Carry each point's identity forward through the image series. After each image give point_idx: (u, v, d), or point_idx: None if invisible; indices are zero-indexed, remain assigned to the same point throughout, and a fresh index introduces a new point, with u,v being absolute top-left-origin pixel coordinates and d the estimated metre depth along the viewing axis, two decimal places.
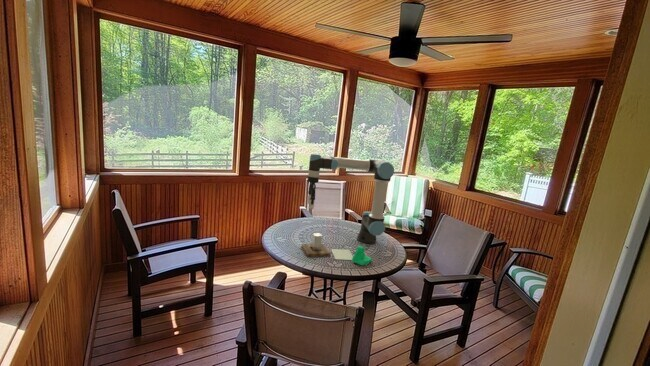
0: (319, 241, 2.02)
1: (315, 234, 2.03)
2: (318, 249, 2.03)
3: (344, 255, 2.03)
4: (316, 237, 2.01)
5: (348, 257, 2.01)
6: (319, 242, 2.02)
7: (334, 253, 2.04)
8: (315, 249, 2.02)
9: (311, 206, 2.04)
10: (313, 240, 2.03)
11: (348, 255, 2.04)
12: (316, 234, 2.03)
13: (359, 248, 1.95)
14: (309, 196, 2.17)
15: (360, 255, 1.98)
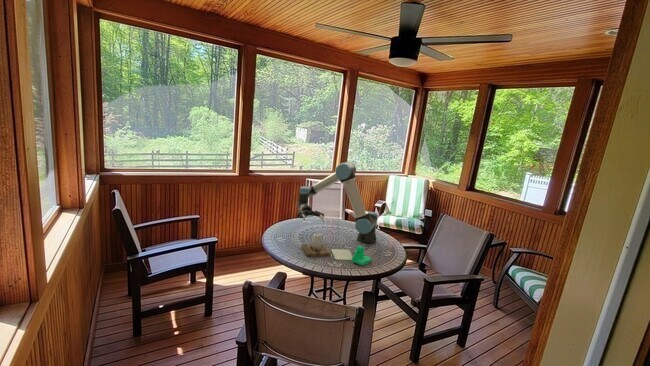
0: (319, 241, 2.02)
1: (315, 234, 2.03)
2: (318, 249, 2.03)
3: (344, 255, 2.03)
4: (316, 237, 2.01)
5: (348, 257, 2.01)
6: (319, 242, 2.02)
7: (334, 253, 2.04)
8: (315, 249, 2.02)
9: (303, 218, 2.11)
10: (313, 240, 2.03)
11: (348, 255, 2.04)
12: (316, 234, 2.03)
13: (359, 248, 1.96)
14: (320, 217, 2.19)
15: (360, 255, 1.98)
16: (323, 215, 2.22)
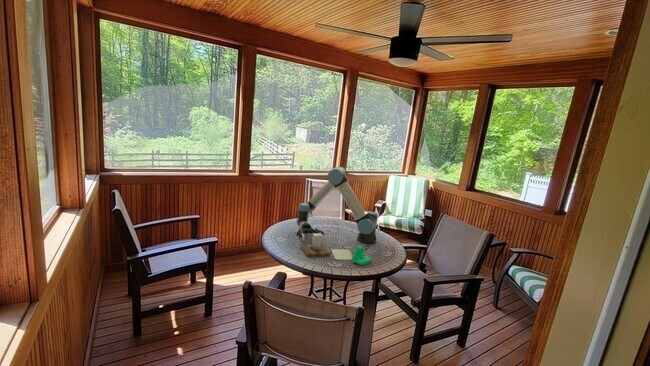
0: (319, 241, 2.02)
1: (315, 234, 2.03)
2: (318, 249, 2.03)
3: (344, 255, 2.03)
4: (316, 237, 2.01)
5: (348, 257, 2.01)
6: (319, 242, 2.02)
7: (334, 253, 2.04)
8: (315, 249, 2.02)
9: (302, 237, 2.08)
10: (313, 240, 2.03)
11: (348, 255, 2.04)
12: (316, 234, 2.03)
13: (358, 248, 1.96)
14: None
15: (359, 255, 1.98)
16: (323, 233, 2.19)
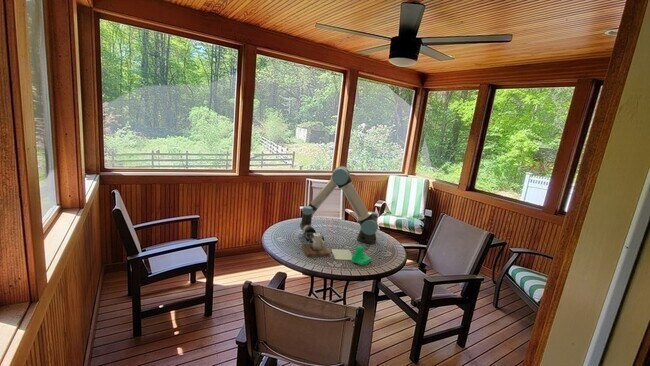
0: (319, 241, 2.02)
1: (315, 234, 2.03)
2: (318, 249, 2.03)
3: (344, 255, 2.03)
4: (316, 237, 2.01)
5: (348, 257, 2.01)
6: (319, 242, 2.02)
7: (334, 253, 2.04)
8: (315, 249, 2.02)
9: (313, 243, 2.00)
10: None
11: (348, 255, 2.04)
12: (316, 234, 2.03)
13: (358, 248, 1.96)
14: None
15: (359, 255, 1.98)
16: (323, 239, 2.08)
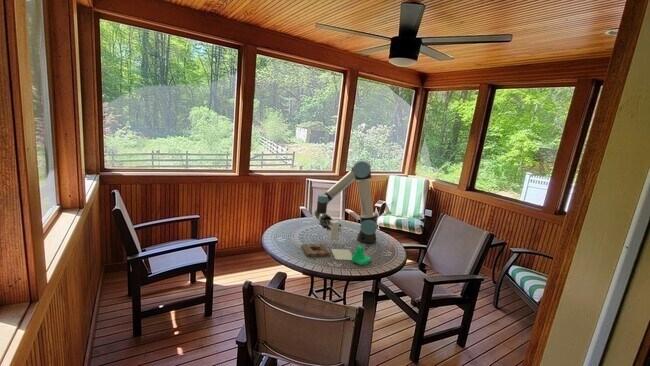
0: (336, 228, 2.00)
1: (332, 221, 2.01)
2: (335, 236, 2.01)
3: (344, 255, 2.03)
4: (334, 224, 1.99)
5: (348, 257, 2.01)
6: (336, 229, 2.00)
7: (334, 253, 2.04)
8: (333, 236, 2.00)
9: (331, 230, 1.98)
10: None
11: (348, 255, 2.04)
12: (333, 221, 2.01)
13: (358, 248, 1.96)
14: None
15: (359, 255, 1.98)
16: (340, 226, 2.06)
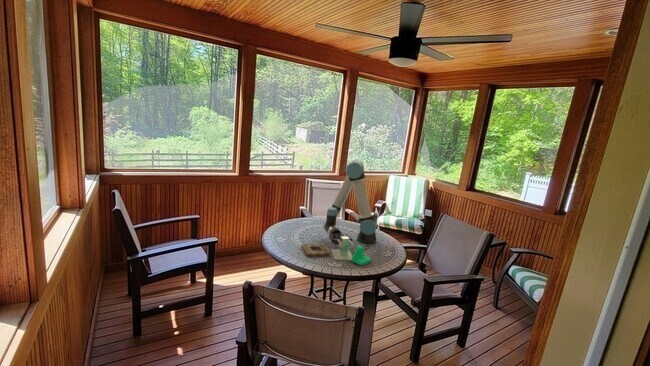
0: (347, 244, 2.01)
1: (342, 237, 2.02)
2: (345, 252, 2.02)
3: None
4: (344, 240, 2.00)
5: (348, 257, 2.01)
6: (346, 245, 2.01)
7: (334, 253, 2.04)
8: (342, 252, 2.01)
9: (339, 244, 1.99)
10: None
11: (348, 255, 2.04)
12: (343, 237, 2.03)
13: (358, 248, 1.96)
14: None
15: (359, 255, 1.98)
16: (351, 240, 2.07)
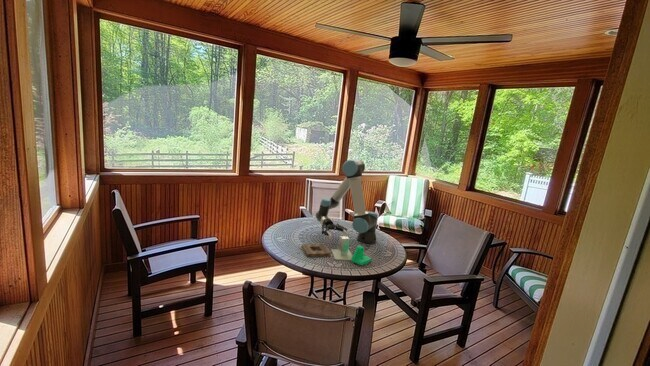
0: (347, 244, 2.01)
1: (342, 237, 2.02)
2: (345, 252, 2.02)
3: None
4: (344, 240, 2.00)
5: (348, 257, 2.01)
6: (346, 245, 2.01)
7: (334, 253, 2.04)
8: (342, 252, 2.01)
9: (329, 236, 2.13)
10: (340, 243, 2.02)
11: (348, 255, 2.04)
12: (343, 237, 2.03)
13: (358, 248, 1.96)
14: (343, 232, 2.22)
15: (359, 255, 1.98)
16: (346, 229, 2.25)
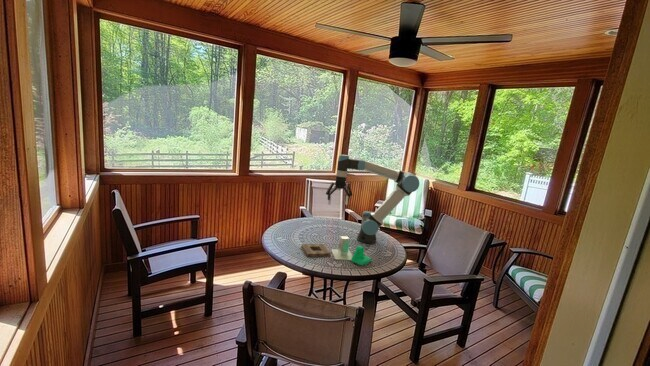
0: (347, 244, 2.01)
1: (342, 237, 2.02)
2: (345, 252, 2.02)
3: None
4: (344, 240, 2.00)
5: (348, 257, 2.01)
6: (346, 245, 2.01)
7: (334, 253, 2.04)
8: (342, 252, 2.01)
9: (328, 201, 2.20)
10: (340, 243, 2.02)
11: (348, 255, 2.04)
12: (343, 237, 2.03)
13: (358, 248, 1.96)
14: (346, 197, 2.24)
15: (359, 255, 1.98)
16: None
